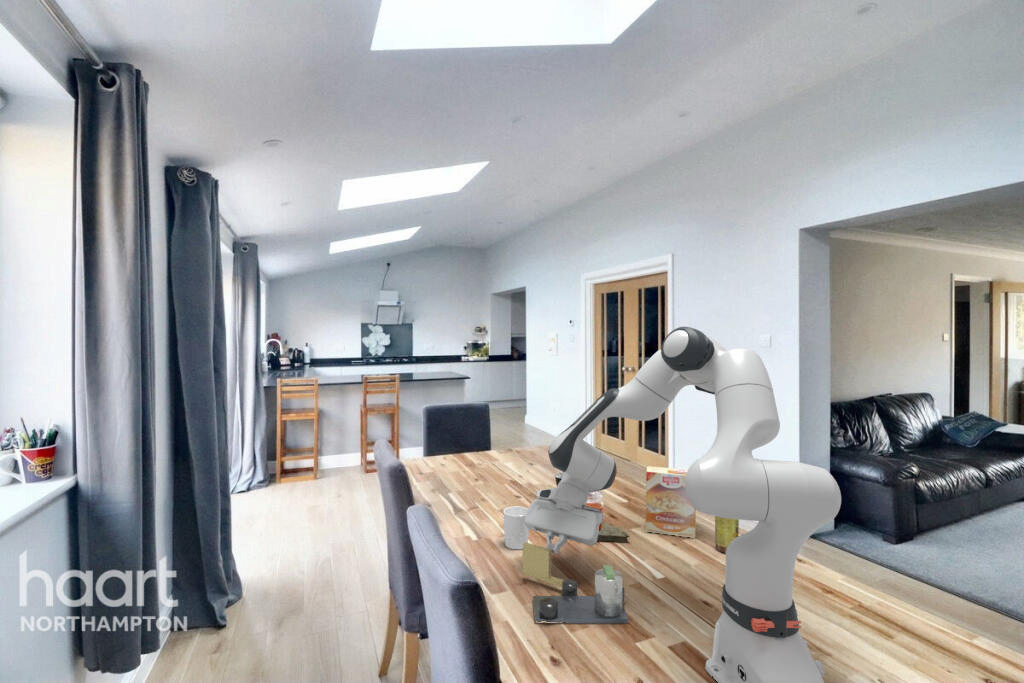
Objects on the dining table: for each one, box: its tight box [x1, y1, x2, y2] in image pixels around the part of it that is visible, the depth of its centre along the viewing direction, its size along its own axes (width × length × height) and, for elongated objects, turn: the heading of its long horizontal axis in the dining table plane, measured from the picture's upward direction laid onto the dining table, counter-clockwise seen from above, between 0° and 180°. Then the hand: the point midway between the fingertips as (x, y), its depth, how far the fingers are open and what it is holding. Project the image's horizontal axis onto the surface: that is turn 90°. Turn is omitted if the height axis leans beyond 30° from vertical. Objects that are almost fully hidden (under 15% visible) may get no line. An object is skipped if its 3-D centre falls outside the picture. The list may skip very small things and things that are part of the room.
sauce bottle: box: [714, 516, 740, 554], centre depth 138 cm, size 6×6×20 cm
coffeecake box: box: [644, 465, 697, 539], centre depth 151 cm, size 15×7×20 cm, turn 73°
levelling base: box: [532, 564, 629, 624], centre depth 106 cm, size 10×21×10 cm, turn 91°
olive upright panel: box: [522, 542, 579, 596], centre depth 116 cm, size 15×4×9 cm, turn 56°
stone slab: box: [597, 520, 631, 543], centre depth 151 cm, size 27×12×5 cm, turn 39°
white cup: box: [503, 505, 530, 550], centre depth 140 cm, size 8×8×10 cm
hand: (551, 552), depth 120 cm, fingers closed
